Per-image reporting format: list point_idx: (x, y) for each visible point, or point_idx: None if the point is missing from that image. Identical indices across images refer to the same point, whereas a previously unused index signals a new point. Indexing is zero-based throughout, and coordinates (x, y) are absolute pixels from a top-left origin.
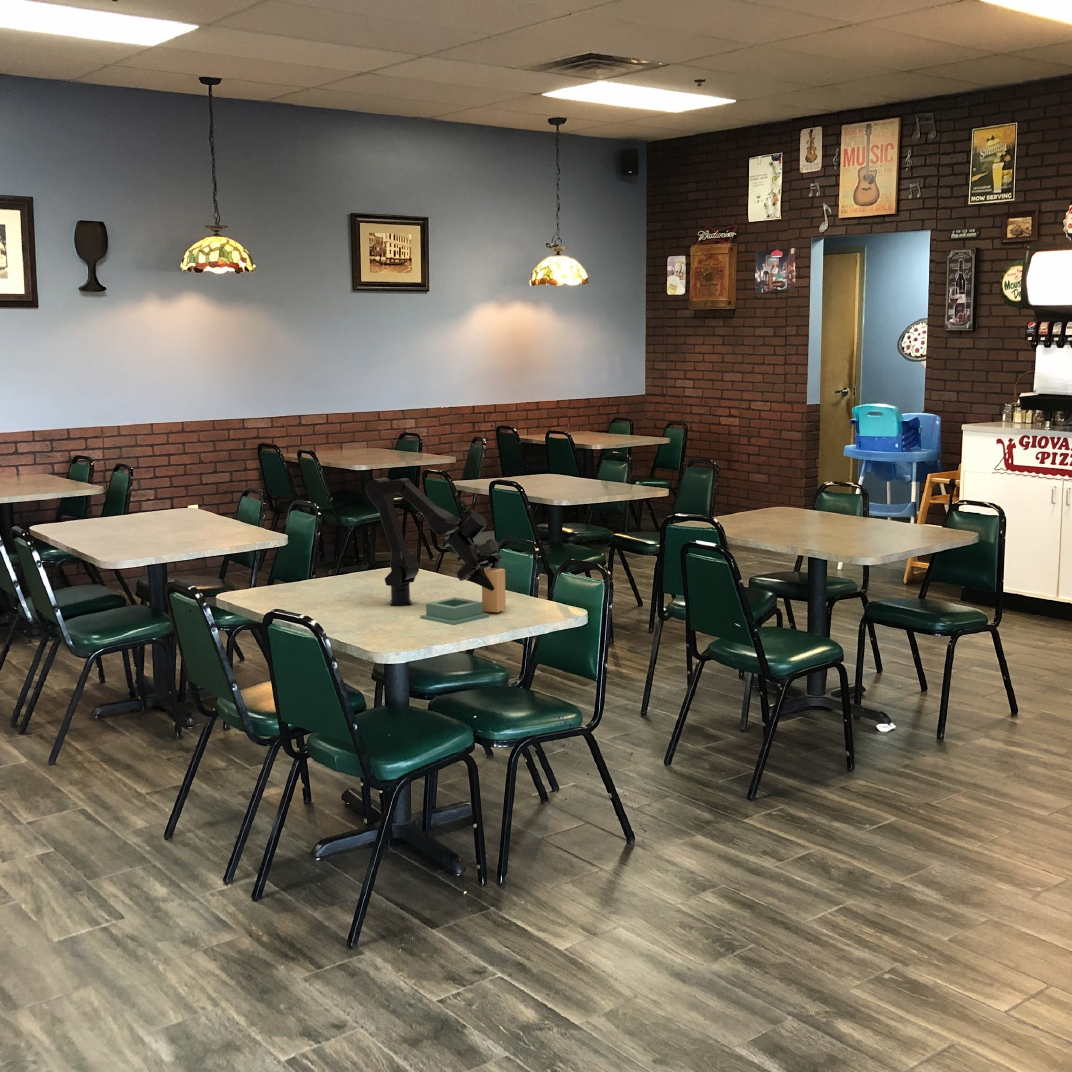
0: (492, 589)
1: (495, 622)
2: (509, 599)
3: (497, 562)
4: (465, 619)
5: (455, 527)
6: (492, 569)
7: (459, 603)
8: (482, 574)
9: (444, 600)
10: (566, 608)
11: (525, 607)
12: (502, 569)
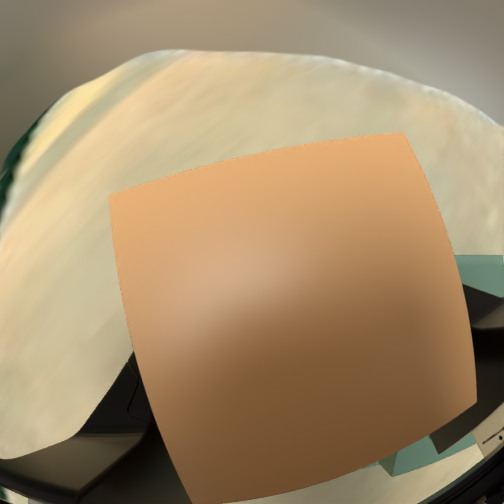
0: None
1: None
2: (39, 425)
3: (7, 470)
4: (469, 255)
5: None
6: (294, 376)
7: None
8: (502, 298)
9: (464, 437)
10: (47, 153)
11: (86, 279)
12: (155, 209)
